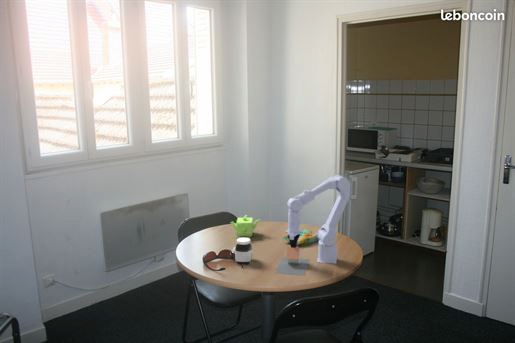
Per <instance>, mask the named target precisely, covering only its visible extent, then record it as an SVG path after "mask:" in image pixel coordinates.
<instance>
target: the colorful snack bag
mask: <svg viewBox="0 0 515 343" xmlns="http://www.w3.org/2000/svg"><path fill="white" fill-rule="evenodd" d="M288 235H289V234H287V235H283V236H282V237H281V238H282V240H284V241H287V242H289V243H290V241H289V239H288ZM317 241H319V239H318V237H317V232H316V231H312V230H310V229H307V228H305V229H303V230H300V236H299V238H298V241H297V246H299V247H301V246H305V245H308V244H310V243H314V242H317Z"/></svg>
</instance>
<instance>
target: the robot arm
mask: <svg viewBox="0 0 515 343" xmlns="http://www.w3.org/2000/svg"><path fill="white" fill-rule="evenodd" d="M351 186H352V185H351V182H350V180H349V179H348V178H346V177H344V176H342V175H340V174H337V173H336V174H333V175H332V176H329V177H328V178H327V179H326V180H324V181H323V182H321V183H320V184H318V185H317V186H316V187H314V188H313V189H311V190H310V189H307V190H306V189H304V190H302V192H301V193H300V194H298V195H295V196H294V197H291V198H289V199H288V201H287V202H286V205H287V208H288V213H287V214H288V215H287V217H288V220H287V229H286V230H285V233H287V235H288V239H289V241H290V242H289V241H288V242H289V243H290V247H292V248H297V246H298V245H297V241H298V238H299V236H300V231H301V210H302V209H303V207H304V206H305V205H308V204H309V203H311V202H312V201H314V200H315V198H316V196H318V195H320V194H322V193H324V192H326V191H328V190H329V189H331V190H336V193H337V194H338V195H337V197H336V200H335V202H334V205H333V206H332V209H331V211H330V213H329V215H328V217H327V220H326V222H325V223H324V224H323V225H321V227H320V229H318V231H317V232H316V233H317V237H318V239H319V240H318V250H317V251H318V255H317V261H316V263H321V264H322V263H323V264H335V265H336V264H337V261H338V244H335V242H336V235H337V230H336V228H337V226H338V224H339V223H340V222H339V221H340V219H341V218H342V216H343V213H344V210H345V208H346V206H347V203H348V202H349V200H350V198H351Z"/></svg>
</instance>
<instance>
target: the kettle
mask: <svg viewBox="0 0 515 343" xmlns="http://www.w3.org/2000/svg"><path fill="white" fill-rule="evenodd" d="M260 221H261V219H256V220H255V222H254V217H248V215H247V214H245V215H244V216H243V217H237V219H236V223H235V222H234V221H231V222H230V224H231V225H232V227H233V228H234V229H235V230H236V237H237V239H238V238H243V237H246V238H249V239H251V238H252V237H253V234H254V231H255V229H256V228H257V224H258V223H259V222H260Z"/></svg>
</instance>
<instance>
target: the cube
mask: <svg viewBox="0 0 515 343" xmlns="http://www.w3.org/2000/svg"><path fill="white" fill-rule="evenodd" d="M286 250H287V251H286V256H285V258H286V259H287V262H288V263H293V264H300V259H301V256H302V255H301V254H302V252H301V247H296V248H292V247H291V246H289V247H287V249H286Z"/></svg>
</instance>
